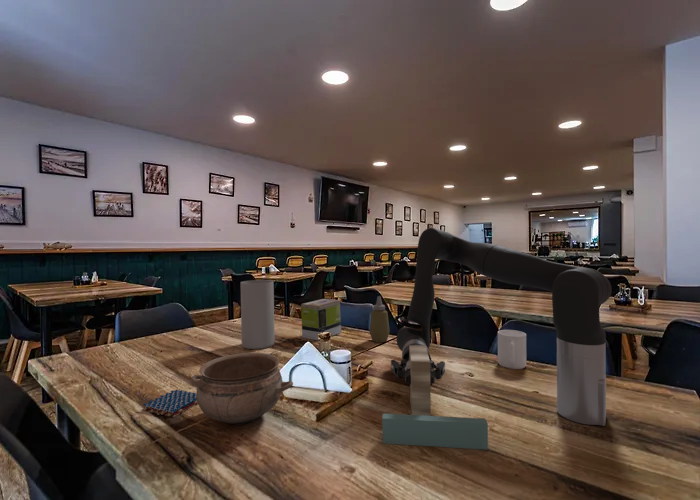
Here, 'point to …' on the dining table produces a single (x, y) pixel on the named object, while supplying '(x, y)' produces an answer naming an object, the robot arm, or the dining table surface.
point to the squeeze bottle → (379, 322)
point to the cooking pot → (239, 387)
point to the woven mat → (172, 403)
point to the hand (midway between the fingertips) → (420, 380)
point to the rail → (435, 431)
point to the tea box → (320, 318)
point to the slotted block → (420, 380)
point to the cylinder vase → (257, 314)
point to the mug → (512, 349)
